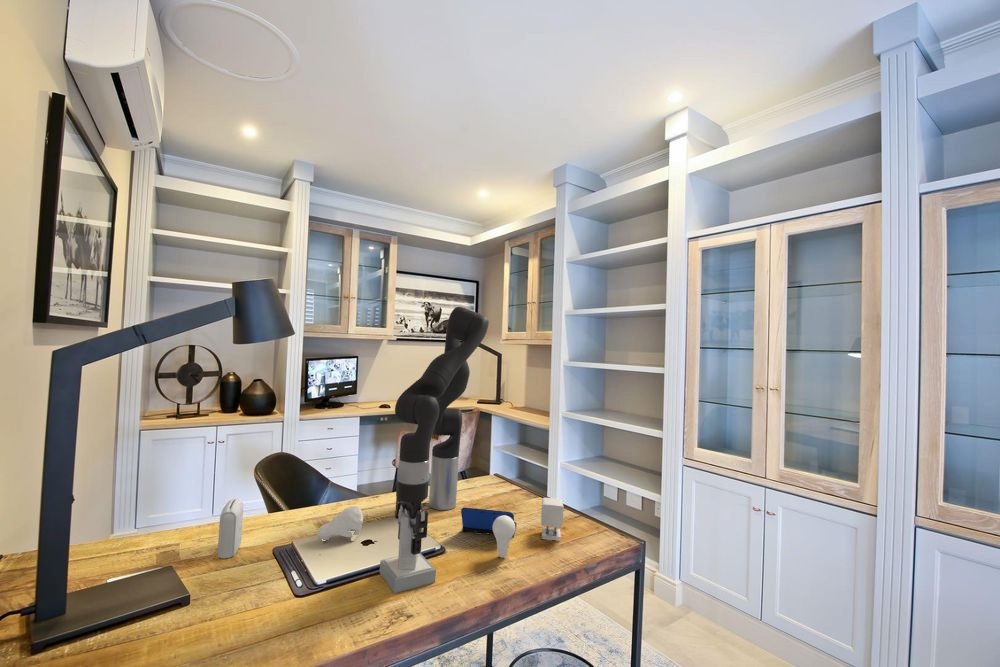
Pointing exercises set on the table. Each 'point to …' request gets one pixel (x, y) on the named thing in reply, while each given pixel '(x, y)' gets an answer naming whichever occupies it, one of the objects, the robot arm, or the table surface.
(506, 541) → the lightbulb
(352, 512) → the white rounded figure
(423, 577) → the plinth
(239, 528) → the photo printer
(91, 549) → the table surface
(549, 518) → the white block on posts
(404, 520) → the skincare box
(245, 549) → the table surface
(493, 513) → the handheld game console
